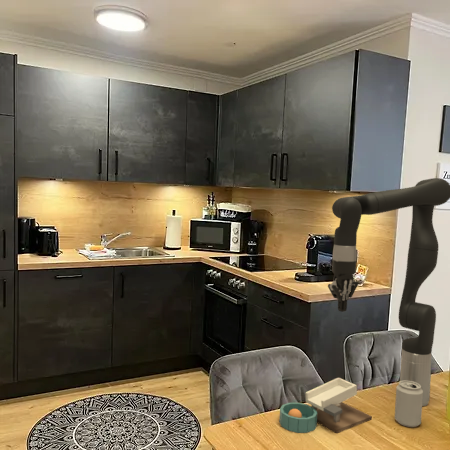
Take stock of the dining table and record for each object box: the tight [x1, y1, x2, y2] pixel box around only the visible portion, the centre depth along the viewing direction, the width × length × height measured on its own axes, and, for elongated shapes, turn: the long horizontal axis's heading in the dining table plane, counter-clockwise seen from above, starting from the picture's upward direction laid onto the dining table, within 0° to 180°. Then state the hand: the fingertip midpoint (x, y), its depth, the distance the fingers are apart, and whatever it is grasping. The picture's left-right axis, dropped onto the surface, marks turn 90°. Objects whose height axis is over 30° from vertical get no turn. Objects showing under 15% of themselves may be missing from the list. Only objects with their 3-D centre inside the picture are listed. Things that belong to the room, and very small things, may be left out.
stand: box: [310, 401, 373, 434], centre depth 141 cm, size 16×14×6 cm
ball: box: [288, 409, 302, 418], centre depth 135 cm, size 4×4×4 cm
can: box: [394, 380, 423, 428], centre depth 139 cm, size 8×8×12 cm
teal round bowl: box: [278, 402, 318, 434], centre depth 136 cm, size 11×11×4 cm
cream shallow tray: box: [304, 377, 358, 417], centre depth 140 cm, size 15×11×3 cm
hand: (342, 311), depth 152 cm, fingers closed
